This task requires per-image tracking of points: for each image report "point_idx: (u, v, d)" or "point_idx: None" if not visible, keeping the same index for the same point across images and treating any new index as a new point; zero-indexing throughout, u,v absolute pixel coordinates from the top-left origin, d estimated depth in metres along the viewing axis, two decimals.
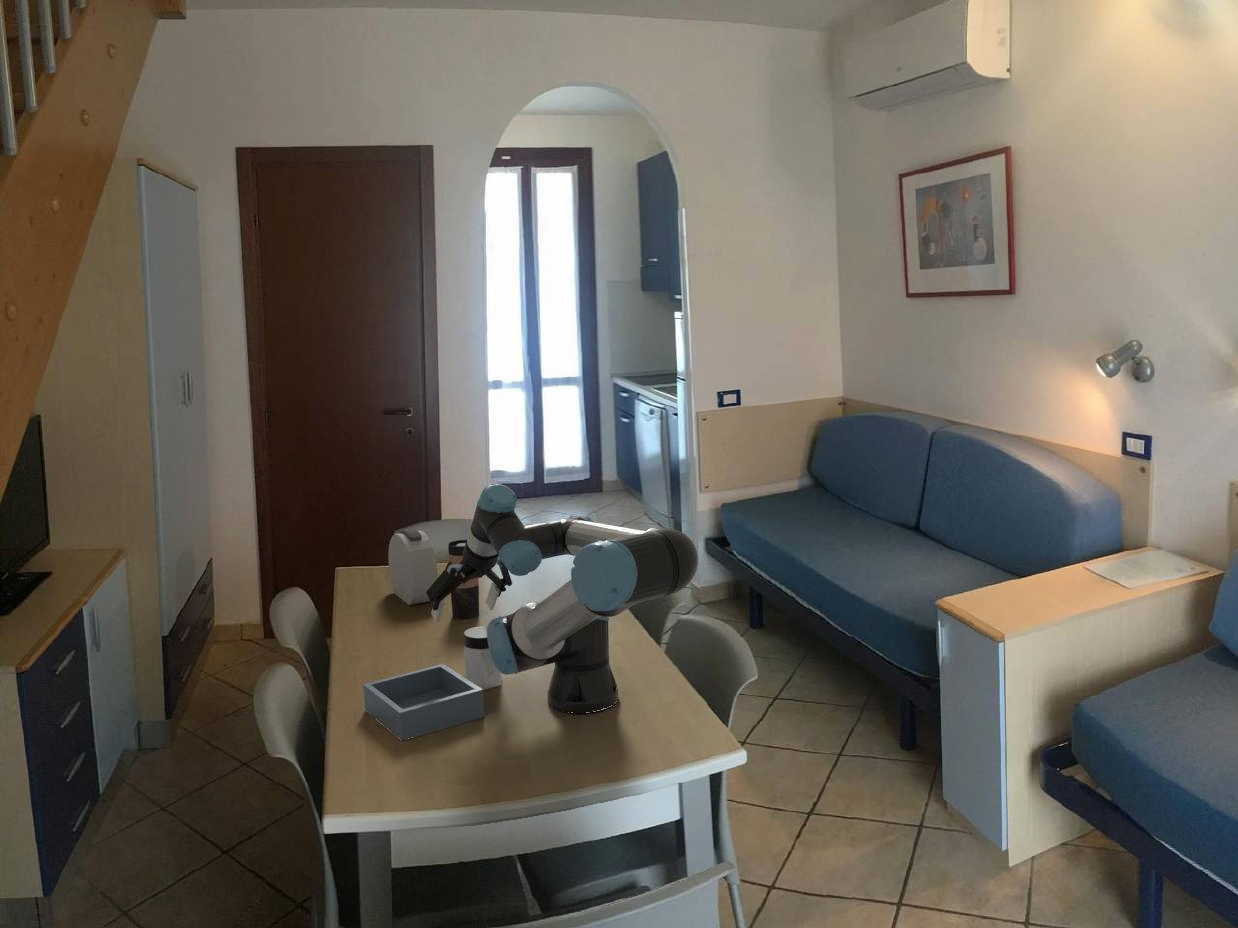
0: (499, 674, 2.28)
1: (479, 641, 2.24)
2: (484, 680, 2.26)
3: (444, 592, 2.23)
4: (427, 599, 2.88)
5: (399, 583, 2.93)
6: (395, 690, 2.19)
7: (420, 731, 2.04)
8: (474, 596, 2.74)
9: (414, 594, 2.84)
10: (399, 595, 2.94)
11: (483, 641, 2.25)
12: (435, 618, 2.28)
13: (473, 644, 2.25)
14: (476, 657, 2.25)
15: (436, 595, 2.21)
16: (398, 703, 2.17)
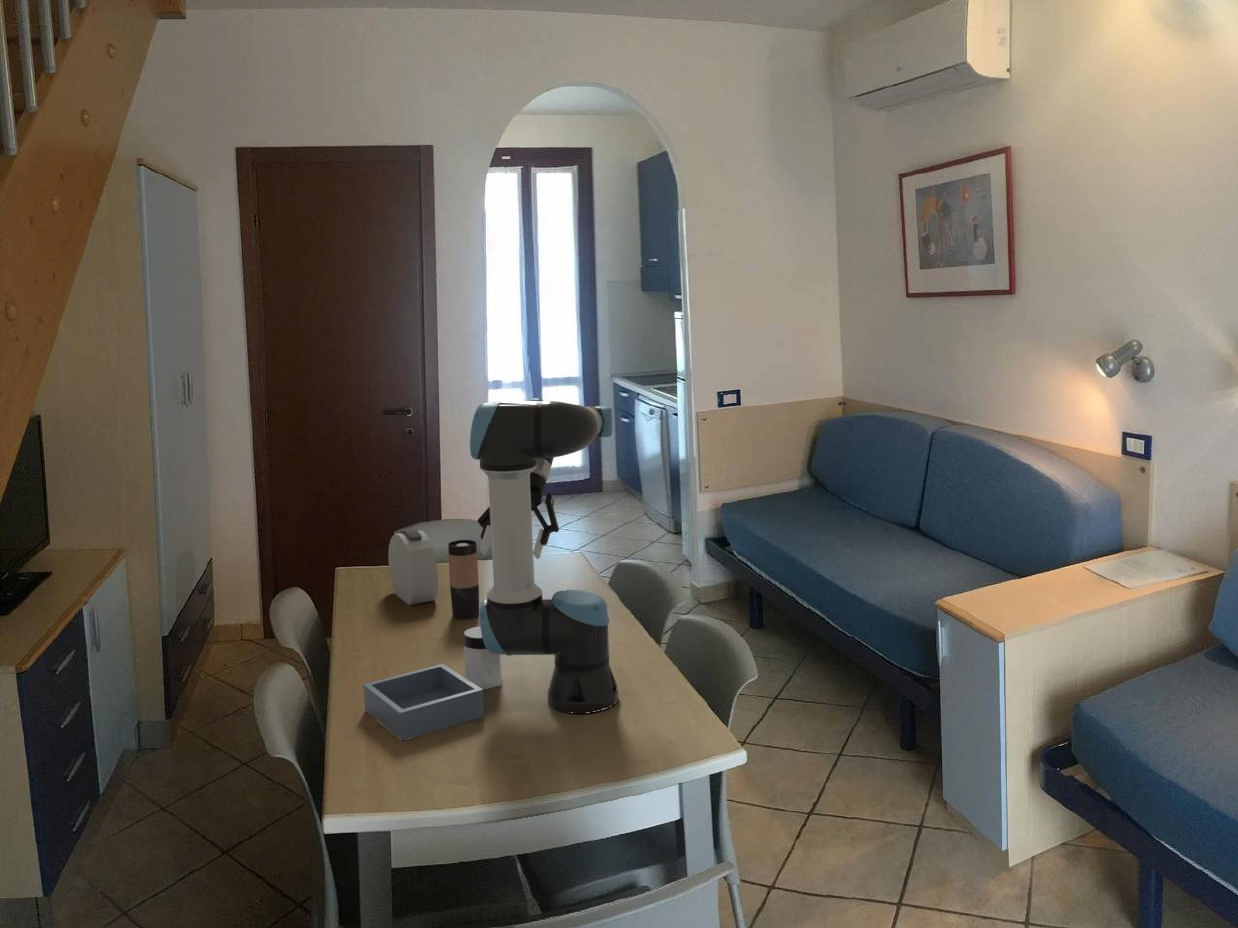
0: (499, 674, 2.28)
1: (479, 641, 2.24)
2: (484, 680, 2.26)
3: None
4: (427, 599, 2.88)
5: (399, 583, 2.93)
6: (395, 690, 2.19)
7: (420, 731, 2.04)
8: (474, 596, 2.74)
9: (414, 594, 2.84)
10: (399, 595, 2.94)
11: (483, 641, 2.25)
12: None
13: (473, 644, 2.25)
14: (476, 657, 2.25)
15: (483, 516, 2.46)
16: (398, 703, 2.17)
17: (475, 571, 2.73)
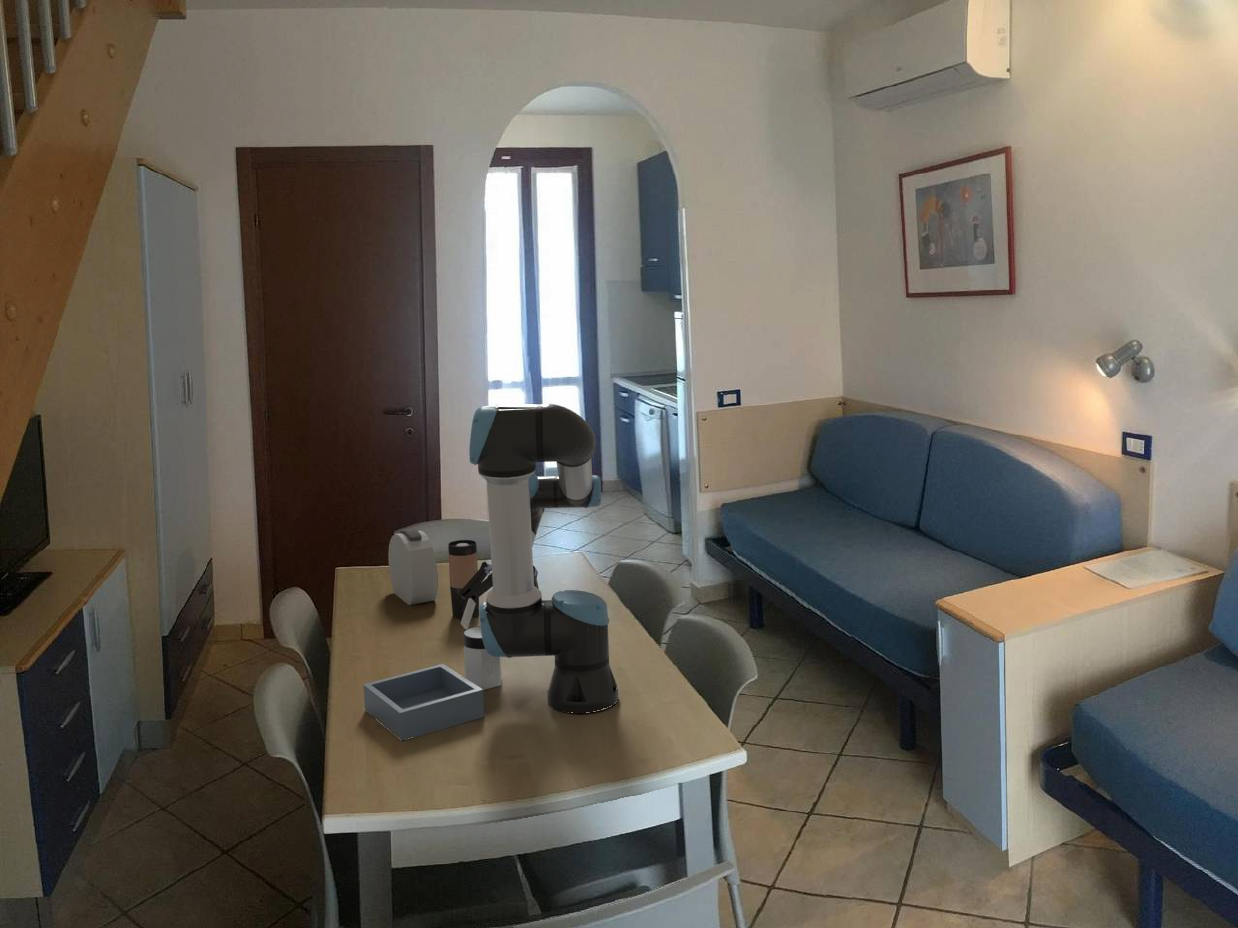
0: (499, 674, 2.28)
1: (479, 641, 2.24)
2: (484, 680, 2.26)
3: None
4: (427, 599, 2.88)
5: (399, 583, 2.93)
6: (395, 690, 2.19)
7: (420, 731, 2.04)
8: None
9: (414, 594, 2.84)
10: (399, 595, 2.94)
11: None
12: None
13: (473, 644, 2.25)
14: (476, 657, 2.25)
15: (465, 588, 2.41)
16: (398, 703, 2.17)
17: (475, 571, 2.73)
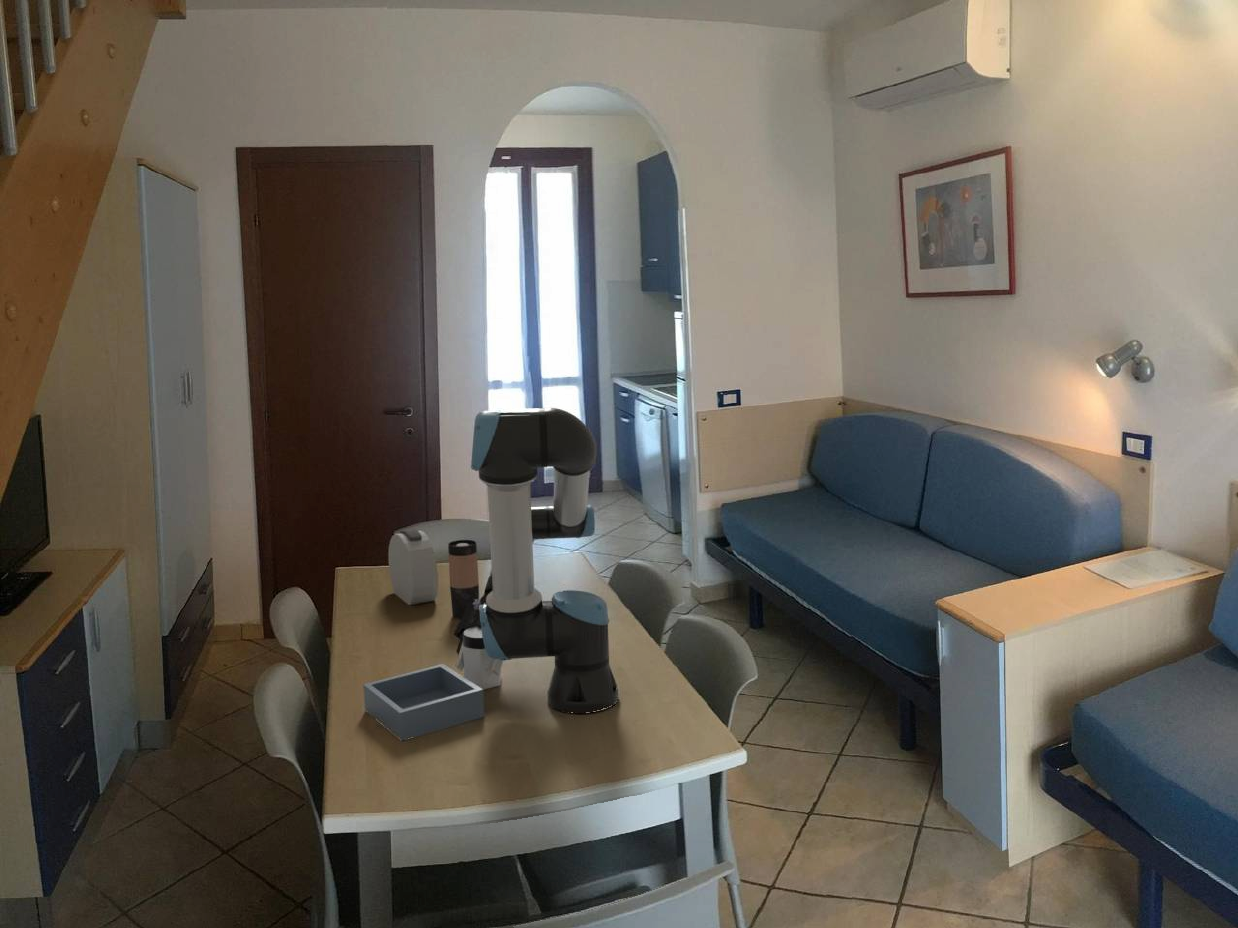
0: None
1: (478, 641, 2.24)
2: (483, 680, 2.26)
3: None
4: (427, 599, 2.88)
5: (399, 583, 2.93)
6: (395, 690, 2.19)
7: (420, 731, 2.04)
8: (474, 596, 2.74)
9: (414, 594, 2.84)
10: (399, 595, 2.94)
11: (482, 641, 2.25)
12: None
13: (472, 644, 2.25)
14: (475, 657, 2.25)
15: (459, 627, 2.33)
16: (398, 703, 2.17)
17: (475, 571, 2.73)
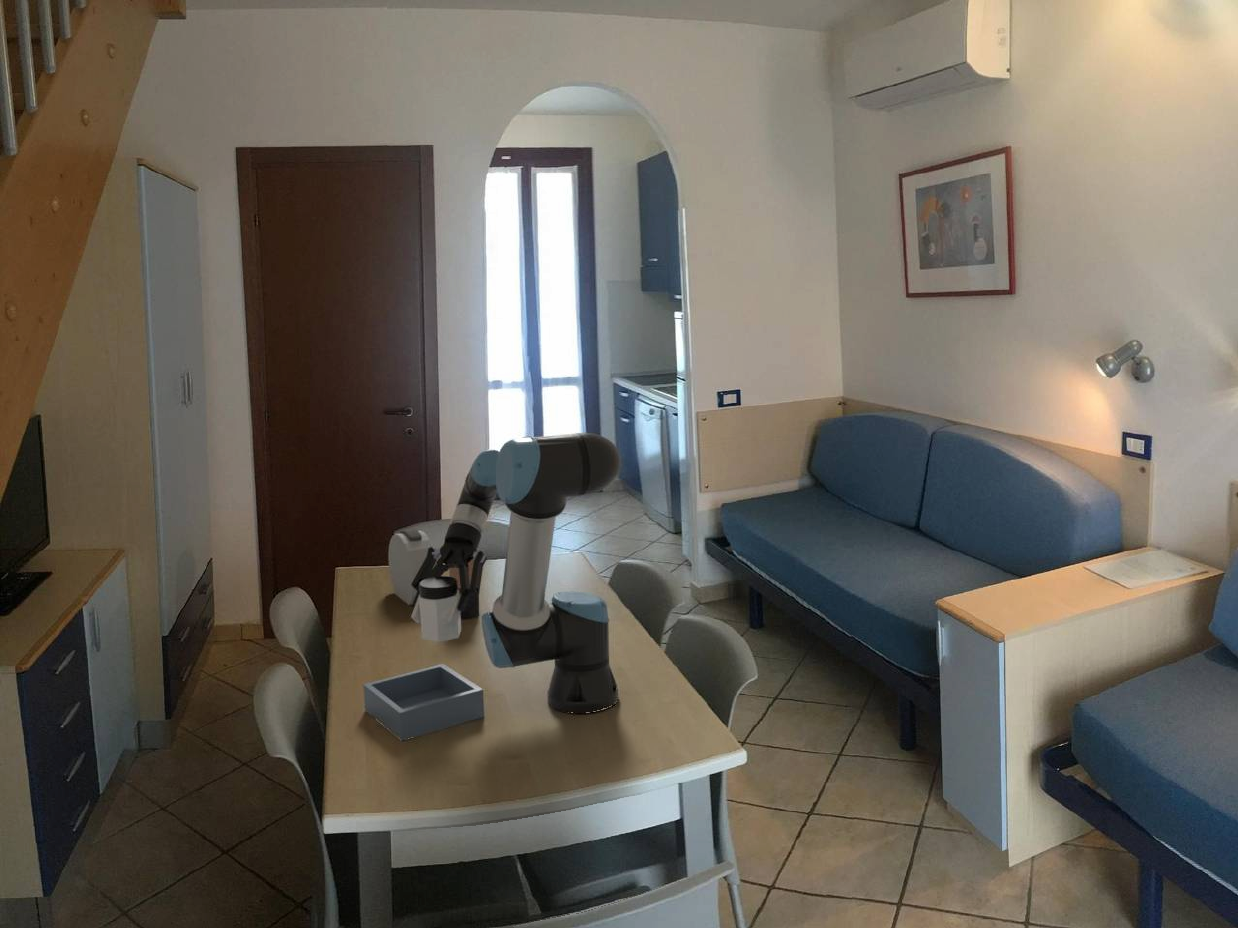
0: (456, 626, 2.18)
1: (434, 591, 2.15)
2: (440, 632, 2.16)
3: None
4: None
5: (399, 583, 2.93)
6: (395, 690, 2.19)
7: (420, 731, 2.04)
8: (474, 596, 2.74)
9: (414, 594, 2.84)
10: (399, 595, 2.94)
11: (438, 591, 2.15)
12: None
13: (428, 595, 2.15)
14: (431, 608, 2.16)
15: (417, 578, 2.23)
16: (398, 703, 2.17)
17: None
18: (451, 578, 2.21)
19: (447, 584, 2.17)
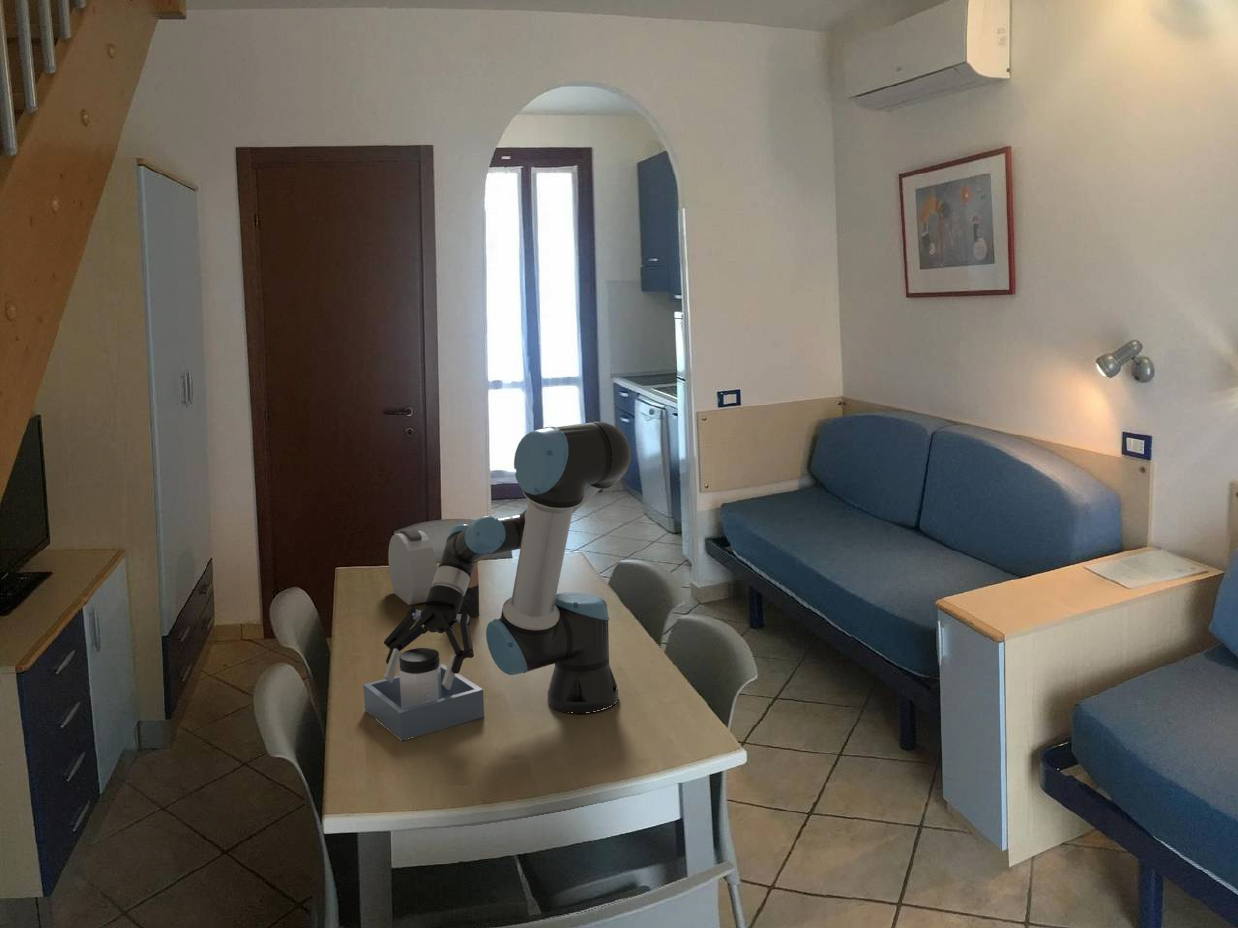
0: None
1: (415, 665, 2.09)
2: None
3: None
4: None
5: (399, 583, 2.93)
6: (395, 690, 2.19)
7: (420, 731, 2.04)
8: (474, 596, 2.74)
9: (414, 594, 2.84)
10: (399, 595, 2.94)
11: (419, 665, 2.09)
12: None
13: (409, 668, 2.09)
14: (412, 682, 2.09)
15: (390, 636, 2.18)
16: (398, 703, 2.17)
17: (475, 571, 2.73)
18: (433, 650, 2.14)
19: (429, 657, 2.10)
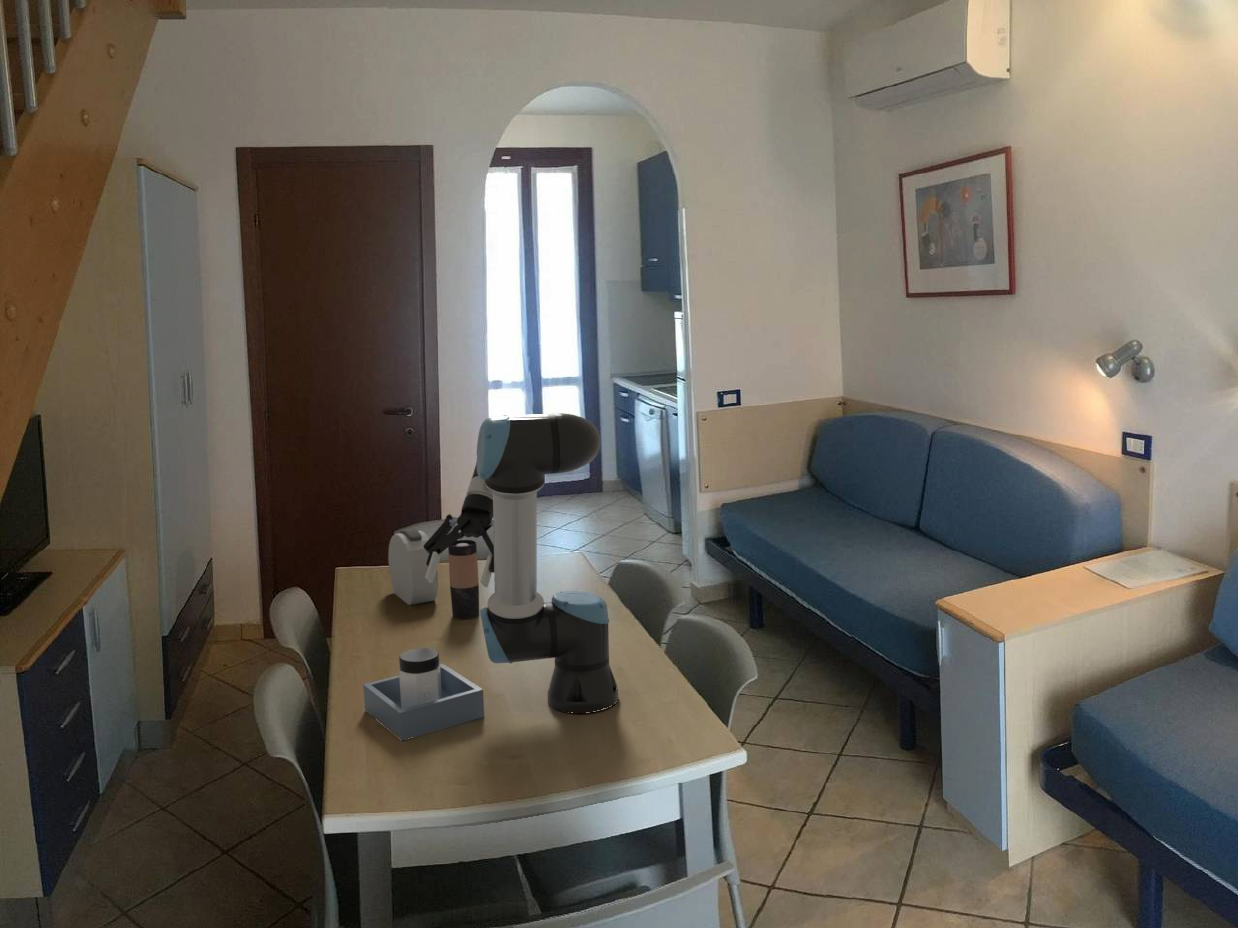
0: None
1: (414, 665, 2.09)
2: None
3: None
4: (427, 599, 2.88)
5: (399, 583, 2.93)
6: (395, 690, 2.19)
7: (420, 731, 2.04)
8: (474, 596, 2.74)
9: (414, 594, 2.84)
10: (399, 595, 2.94)
11: (419, 665, 2.09)
12: None
13: (408, 669, 2.09)
14: (412, 682, 2.09)
15: (430, 541, 2.34)
16: (398, 703, 2.17)
17: (475, 571, 2.73)
18: (432, 650, 2.14)
19: (428, 657, 2.11)
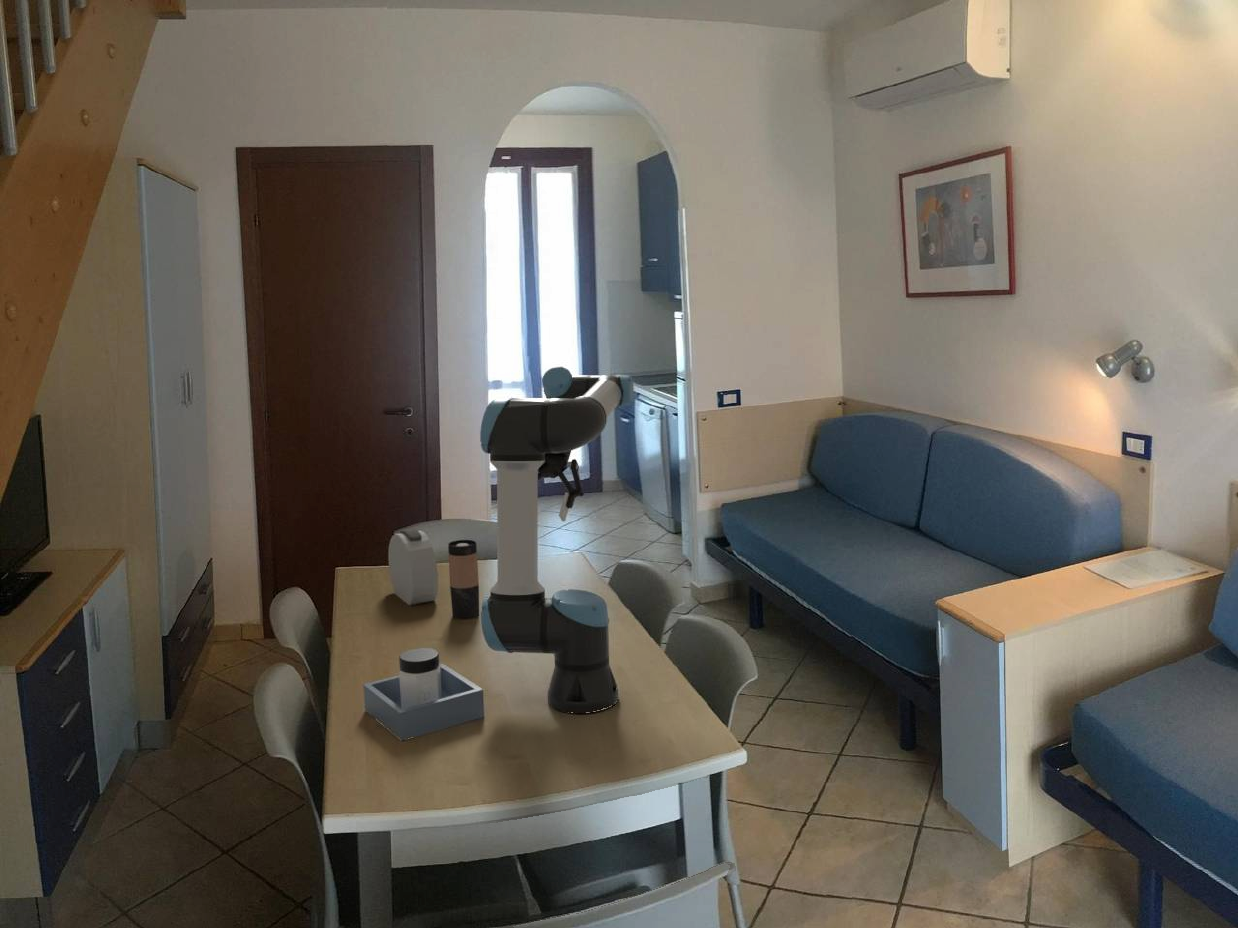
0: None
1: (414, 665, 2.09)
2: None
3: None
4: (427, 599, 2.88)
5: (399, 583, 2.93)
6: (395, 690, 2.19)
7: (420, 731, 2.04)
8: (474, 596, 2.74)
9: (414, 594, 2.84)
10: (399, 595, 2.94)
11: (419, 665, 2.09)
12: None
13: (408, 669, 2.09)
14: (412, 682, 2.09)
15: None
16: (398, 703, 2.17)
17: (475, 571, 2.73)
18: (432, 650, 2.14)
19: (428, 657, 2.11)
